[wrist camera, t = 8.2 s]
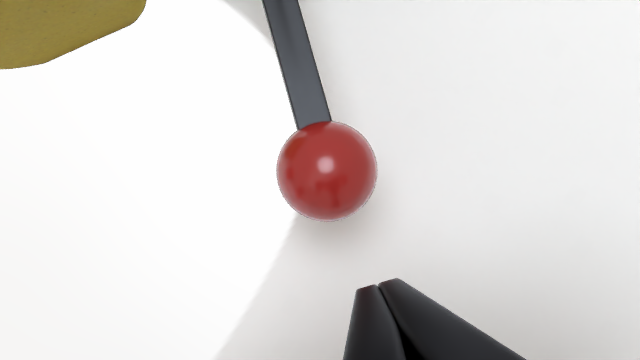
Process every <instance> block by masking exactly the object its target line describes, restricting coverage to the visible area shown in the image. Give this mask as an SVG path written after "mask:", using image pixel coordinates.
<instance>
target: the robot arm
mask: <svg viewBox="0 0 640 360" xmlns="http://www.w3.org/2000/svg"><path fill="white" fill-rule="evenodd" d="M343 360H526V359H525V358H523V357H521V356H520V355H518V354H517V353H515V352H514V351H512V350H510V349H509V348H507V347H506V346H504V345H503V344H501V343H499V342H498V341H496V340H495V339H493V338H492V337H490V336H488V335H487V334H485V333H484V332H482V331H481V330H479V329H477V328H476V327H474V326H473V325H471V324H470V323H468V322H466V321H465V320H463V319H462V318H460V317H459V316H457V315H455V314H454V313H452V312H451V311H449V310H448V309H446V308H444V307H443V306H441V305H440V304H438V303H437V302H435V301H433V300H432V299H430V298H429V297H427V296H426V295H424V294H422V293H421V292H419V291H418V290H416V289H415V288H413V287H411V286H410V285H408V284H407V283H405V282H404V281H402V280H400V279H398V278H395V279H391V280H388V281H384V282H381V283H379V285H378V286H377V285H370V286H367V287H363V288H360V289H358V290H357V291H356V294H355V299H354V304H353V310H352V315H351V320H350V326H349V331H348V336H347V341H346V347H345V352H344V357H343Z"/></svg>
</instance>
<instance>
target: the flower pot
mask: <svg viewBox="0 0 640 360" xmlns="http://www.w3.org/2000/svg"><path fill="white" fill-rule="evenodd" d="M145 4H146V0H0V69H13V68H20V67H27V66H32V65H38V64H43V63H46V62H49V61H50V60H53V59H55V58H57V57H59V56H62V55H64V54H66V53H68V52H71V51H73V50H75V49H77V48H79V47H82V46H84V45H86V44H88V43H90V42H93V41H95V40H97V39H100V38H102V37H104V36H106V35H109V34H111V33H113V32H116V31H118V30H120V29H122V28H125V27H127V26H129V25H131V24H132V23H134V22H135V21H136V20H137V19H138V17H139V16H140V15H141V13H142V12H143V10H144V7H145Z"/></svg>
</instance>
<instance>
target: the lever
mask: <svg viewBox="0 0 640 360" xmlns="http://www.w3.org/2000/svg"><path fill="white" fill-rule="evenodd" d="M262 3H263V7H264V11H265V14H266V18H267V22H268V25H269V29H270V32H271V36H272V40H273V43H274V47H275V51H276V54H277V58H278V62H279V65H280V69H281V72H282V76H283V80H284V83H285V87H286V91H287V94H288V98H289V102H290V105H291V109H292V112H293V116H294V120H295V123H296V127H297V131H296V132H295V133H294V134H293V135H291V136H290V138H289V139H288V140H287V141H286V143H285V144H284V146H283V147H282V150H281V151H280V154H279V157H278V162H277V180H278V185H279V188H280V191H281V193H282V195H283V197H284V198H285V200H286V201H287V203H288V204H289V205H290V206H291V207H292V208H293V209H294V210H295V211H297V212H298V213H300V214H301V215H303V216H305V217H307V218H310V219H313V220H317V221H325V222H329V221H337V220H341V219H344V218H347V217H349V216H351V215H353V214H354V213H356V212H357V211H359V210H360V209H361V208H362V207H363V206H364V205H365V204H366V202H367V201H368V200H369V198H370V196H371V195H372V193H373V190H374V188H375V185H376V180H377V162H376V157H375V155H374V152H373V150H372V148H371V146H370V144H369V143H368V141H367V140H366V139H365V138H364V137H363V135H362V134H360V133H359V132H358V131H357V130H355V129H354V128H352V127H350V126H348V125H346V124H343V123H340V122H335V121H332V119H331V116H330V112H329V109H328V105H327V102H326V98H325V95H324V91H323V87H322V84H321V80H320V77H319V73H318V70H317V66H316V63H315V59H314V56H313V52H312V49H311V45H310V42H309V38H308V34H307V31H306V27H305V24H304V20H303V17H302V13H301V10H300V6H299V3H298V0H262Z"/></svg>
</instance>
